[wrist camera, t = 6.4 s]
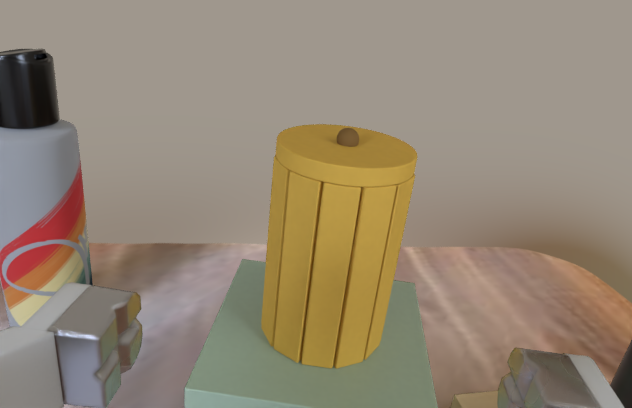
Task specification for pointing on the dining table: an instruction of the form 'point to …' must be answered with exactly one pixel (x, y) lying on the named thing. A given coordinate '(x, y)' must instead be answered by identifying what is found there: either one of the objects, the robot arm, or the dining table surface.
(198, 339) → the dining table surface
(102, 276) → the dining table surface
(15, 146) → the lotion bottle
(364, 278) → the slatted lidded canister
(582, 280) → the dining table surface
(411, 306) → the display block
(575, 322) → the dining table surface
